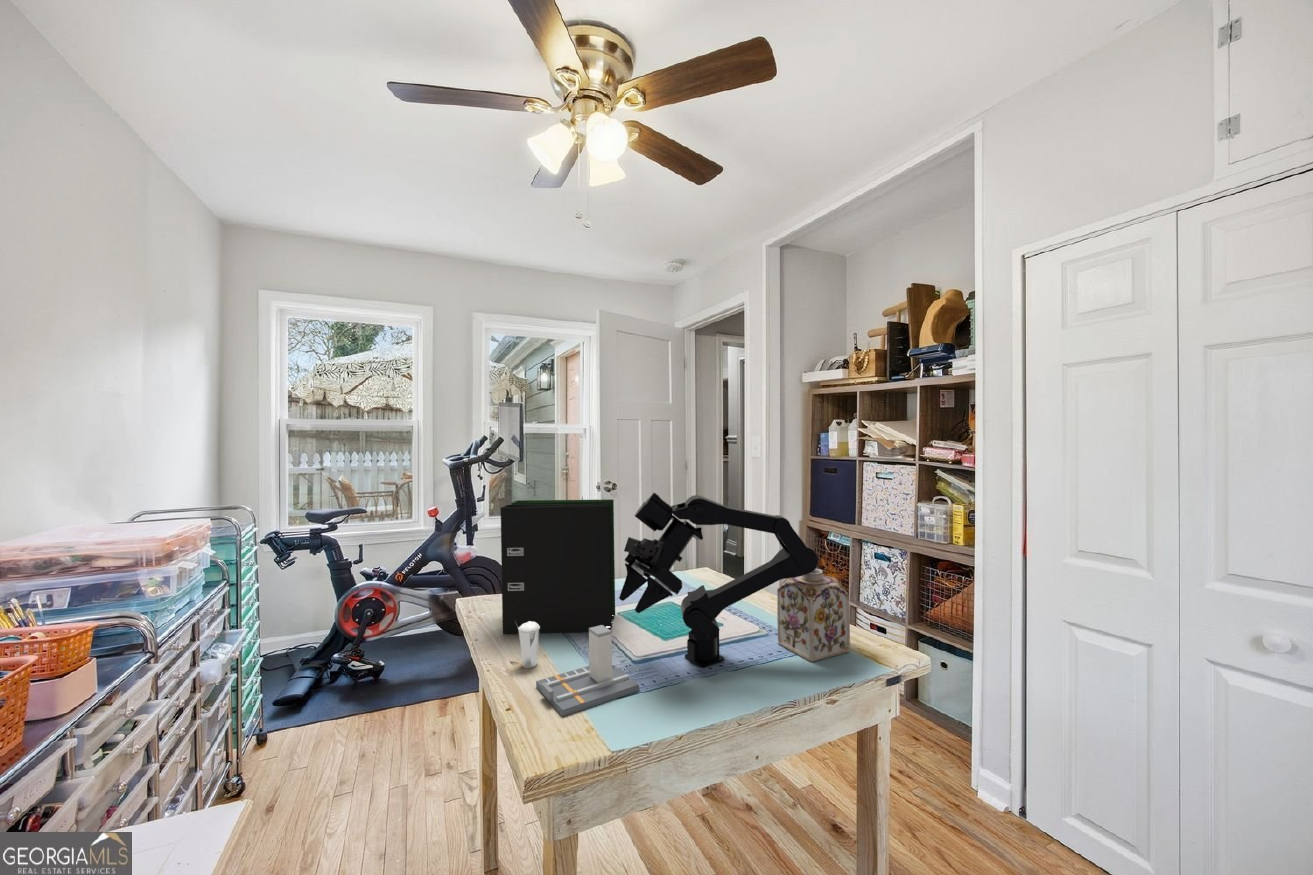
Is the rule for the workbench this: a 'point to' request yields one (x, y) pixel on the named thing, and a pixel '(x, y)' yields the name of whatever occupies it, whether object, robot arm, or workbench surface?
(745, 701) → the workbench surface
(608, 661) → the fader tab
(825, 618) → the decorative jar
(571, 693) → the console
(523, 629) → the milkshake
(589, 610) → the binder
